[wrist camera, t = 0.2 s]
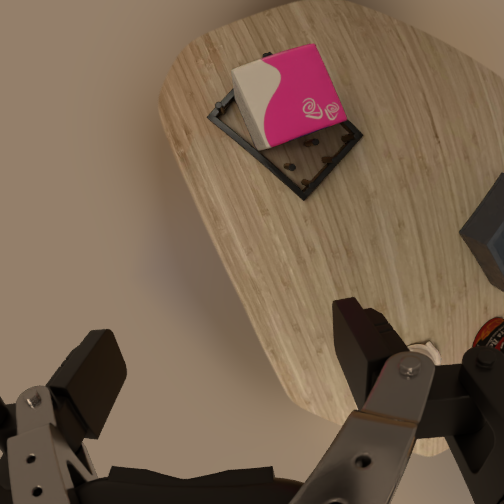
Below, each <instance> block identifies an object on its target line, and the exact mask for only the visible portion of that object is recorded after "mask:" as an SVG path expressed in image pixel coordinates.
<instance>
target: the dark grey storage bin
mask: <svg viewBox="0 0 504 504" xmlns="http://www.w3.org/2000/svg"><path fill="white" fill-rule="evenodd" d="M459 233H460V235H461V236H462V238H463V239H464V241H465V242H466V244H467V245H468V247H469V248H470V250H471V252H472V253H473V255H474V256H475V258H476V260H477V261H478V263H479V264H480V266H481V268H482V269H483V271H484V273H485V275H486V276H487V278H488V280H489V281H490V283H491V284H492V285H494V286H495V287H497V288H498V289H500V290H501V291H503V292H504V173H501V174H500V176H499V177H498V179H497V180H496V182H495V183H494V185H493V186H492V188H491V189H490V191H489V192H488V194H487V195H486V196H485V198H484V199H483V201H482V202H481V203H480V205H479V206H478V208H477V209H476V210H475V212H474V213H473V214H472V216H471V217H470V218H469V220H468V221H467V222H466V224H465V225H464V226H463V228H462V229H461V230H460V231H459Z"/></svg>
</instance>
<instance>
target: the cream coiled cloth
mask: <svg viewBox="0 0 504 504" xmlns="http://www.w3.org/2000/svg"><path fill="white" fill-rule="evenodd" d="M407 347H408V349H409V350H410V351H413V352H419V353H422V354H425V355H427V356H428V357H429V358H431V359H432V361H433V362H434V364H435V365H440V364H441V359H442V358H441V356H440V353H439V351H438V350H437V349H436V348H435V347H434V346H433V345H432V343H431V342H430V341H429V342H427V343H426V344H425V345H423V344H414V345H410V346H407Z"/></svg>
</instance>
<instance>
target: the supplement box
mask: <svg viewBox="0 0 504 504" xmlns="http://www.w3.org/2000/svg"><path fill="white" fill-rule="evenodd" d="M231 73H232V80H233V87H234V95H235V100H236V103H237V105H238V108H239V110H240V112H241V115H242V117H243V119H244V122H245V124H246V126H247V129H248V131H249V133H250V136H251V138H252V140H253V143H254V145H255V147H256V149H257V150H258V151H260V150H264V149H268V148H272V147H275V146H277V145H280V144H283V143H286V142H288V141H291V140H294V139H297V138H299V137H302V136H305V135H307V134H310V133H313V132H316V131H318V130H321V129H324V128H327V127H329V126H332V125H335V124H338V123H341V122H344V121H346V120H347V117H346V115H345V112H344V110H343V107H342V105H341V102H340V100H339V98H338V95H337V93H336V91H335V88H334V86H333V83H332V81H331V79H330V76H329V74H328V72H327V69H326V67H325V65H324V63H323V61H322V58H321V56H320V54H319V52H318V50H317V48H316V45H315V44H307V45H304V46H300V47H296V48H293V49H289V50H286V51H282V52H279V53H276V54H273V55H270V56H267V57H264V58H261V59H259V60H256V61H253V62H250V63H247V64H245V65H242V66H239V67H237V68H234V69H232V71H231Z"/></svg>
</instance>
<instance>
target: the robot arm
mask: <svg viewBox="0 0 504 504" xmlns="http://www.w3.org/2000/svg"><path fill="white" fill-rule="evenodd" d="M332 311H333V334H334V346H335V351H336V355H337V358H338V360H339V363H340V365H341V368H342V370H343V372H344V375H345V377H346V380H347V382H348V385H349V387H350V390H351V392H352V395H353V397H354V400H355V402H356V405H357V407H358V410H353V411H352V412H351V414H350V415H349V416H348V418H347V420H346V421H345V423H344V425H343V426H342V428H341V430H340V431H339V433H338V434H337V436H336V438H335V439H334V441H333V442H332V444H331V445H330V447H329V448H328V450H327V451H326V453H325V454H324V456H323V457H322V459H321V460H320V462H319V463H318V465H317V466H316V468H315V469H314V471H313V472H312V473H311V475H310V476H309V478H308V479H307V480H306V482H305V483H302V482H299V481H295V480H290V479H284V478H275V475H274V471H273V467H272V466H270V467H261V468H251V469H238V470H227V471H223V472H219V473H215V474H210V475H205V476H201V477H196V478H191V479H180V478H176V477H172V476H168V475H164V474H160V473H157V472H154V471H150V470H147V469H135V468H125V467H116V466H112V467H111V470H110V473H109V476H108V477H104V478H98V476H97V474H96V471H95V469H94V466H93V464H92V461H91V459H90V456H89V454H88V451H87V449H86V447H85V445H84V444H83V442H82V441H83V439H84V438H89V439H98V438H99V435H100V433H101V431H102V429H103V427H104V424H105V422H106V420H107V418H108V416H109V413H110V411H111V409H112V407H113V405H114V403H115V400H116V398H117V396H118V394H119V392H120V390H121V388H122V386H123V384H124V381H125V379H126V376H127V369H126V364H125V361H124V359H123V356H122V354H121V352H120V349H119V346H118V344H117V342H116V339H115V337H114V334H113V332H112V331H111V330H110V329H102V330H92V331H90V332H89V333H88V335H87V336H86V337H85V338H84V340H83V341H82V342H81V344H80V345H79V346H77V347H76V348H75V349H73V350H72V351H71V352H70V354H69V355H68V356H67V358H66V360H65V361H63V363H62V364H61V367H59V368H58V369H57V371H56V372H55V373H54V375H53V376H52V377H51V379H50V380H49V382H48V383H47V384H46V386H35V387H32V388H29V389H27V390H25V391H24V392H23V393H22V394H21V395H20V396H19V397H18V399H17V401H16V403H14V404H7V405H5V403H4V402H3V400H2V399H1V397H0V450H1V451H2V452H3V455H2V457H1V459H0V504H390V503H391V501H392V499H393V496H394V494H395V492H396V489H397V487H398V485H399V483H400V480H401V478H402V476H403V473H404V471H405V469H406V466H407V464H408V461H409V459H410V456H411V454H412V451H413V448H414V445H415V443H416V440H417V439H421V438H434V437H445V439H446V441H447V443H448V445H449V447H450V450H451V452H452V454H453V456H454V458H455V460H456V462H457V464H458V466H459V469H460V471H461V473H462V475H463V477H464V480H465V482H466V484H467V486H468V489H469V491H470V494H471V496H472V498H473V501H474V503H475V504H504V354H503V353H502V352H501V351H499V350H498V349H496V348H493V347H489V346H477V347H473V348H471V349H469V350H468V351H466V352H465V354H464V356H463V359H462V363H461V364H452V365H435V364H434V362H433V361H432V359H431V358H429V357H428V356H427V355H425V354H422V353H419V352H413V351H410V350H409V349H408V347H407V346H406V345H405V343H404V342H403V341H402V339H401V338H400V337H399V335H398V334H397V333H396V331H395V330H393V327H392V326H391V325H390V323H388V321H387V320H386V318H385V317H384V316H383V314H382V313H380V312H378V311H376V310H374V309H372V308H368V309H363V308H362V307H361V305H360V304H359V303H358V301H357V300H356V298H355V297H351V298H345V299H340V300H334V301H333V303H332Z"/></svg>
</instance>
